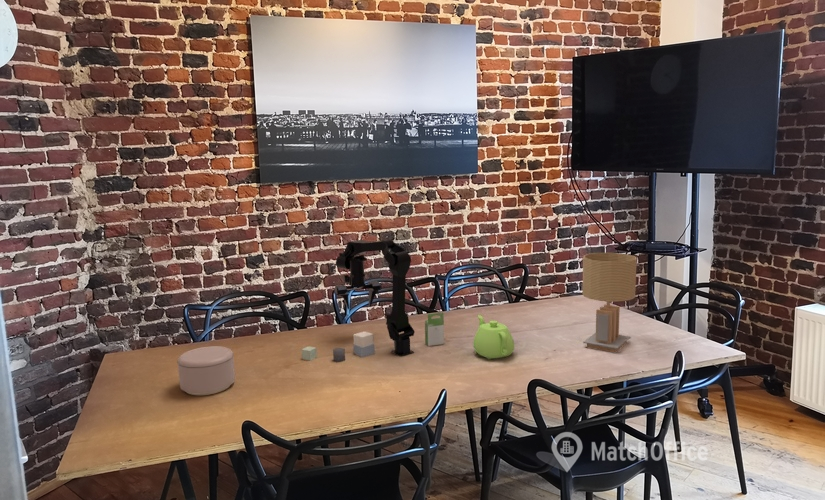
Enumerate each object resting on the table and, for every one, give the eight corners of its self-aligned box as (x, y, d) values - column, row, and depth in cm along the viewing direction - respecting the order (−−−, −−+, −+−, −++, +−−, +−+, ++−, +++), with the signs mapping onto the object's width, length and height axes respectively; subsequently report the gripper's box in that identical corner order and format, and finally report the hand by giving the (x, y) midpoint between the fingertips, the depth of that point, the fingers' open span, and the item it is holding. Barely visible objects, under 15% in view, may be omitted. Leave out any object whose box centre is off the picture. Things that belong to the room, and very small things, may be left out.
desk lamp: (624, 356, 220) (627, 263, 214) (573, 347, 232) (575, 258, 226) (639, 342, 236) (643, 255, 230) (591, 334, 247) (593, 251, 241)
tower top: (373, 343, 231) (373, 334, 230) (362, 347, 227) (362, 337, 226) (364, 340, 235) (364, 331, 234) (353, 344, 231) (353, 334, 230)
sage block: (316, 357, 229) (316, 347, 228) (310, 360, 225) (309, 350, 224) (308, 356, 230) (308, 346, 230) (302, 359, 227) (301, 349, 226)
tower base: (374, 354, 231) (374, 344, 230) (361, 357, 227) (361, 347, 227) (366, 350, 236) (366, 340, 235) (353, 353, 232) (353, 343, 232)
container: (216, 372, 216) (214, 341, 214) (246, 384, 204) (243, 351, 202) (170, 388, 202) (166, 355, 200) (198, 401, 191) (195, 367, 189)
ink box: (441, 341, 243) (440, 309, 241) (444, 344, 240) (443, 312, 237) (425, 343, 241) (424, 311, 239) (428, 346, 238) (427, 314, 235)
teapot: (462, 347, 235) (461, 315, 233) (495, 342, 241) (495, 311, 238) (488, 365, 215) (488, 331, 213) (524, 359, 220) (524, 325, 218)
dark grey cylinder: (347, 360, 225) (346, 350, 224) (337, 362, 222) (336, 352, 222) (341, 357, 228) (341, 347, 228) (331, 359, 226) (330, 349, 225)
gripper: (373, 265, 254) (375, 301, 256) (330, 269, 248) (333, 306, 250) (381, 270, 244) (382, 306, 246) (336, 274, 238) (338, 312, 240)
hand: (359, 307), depth 246 cm, fingers open, 9 cm apart
